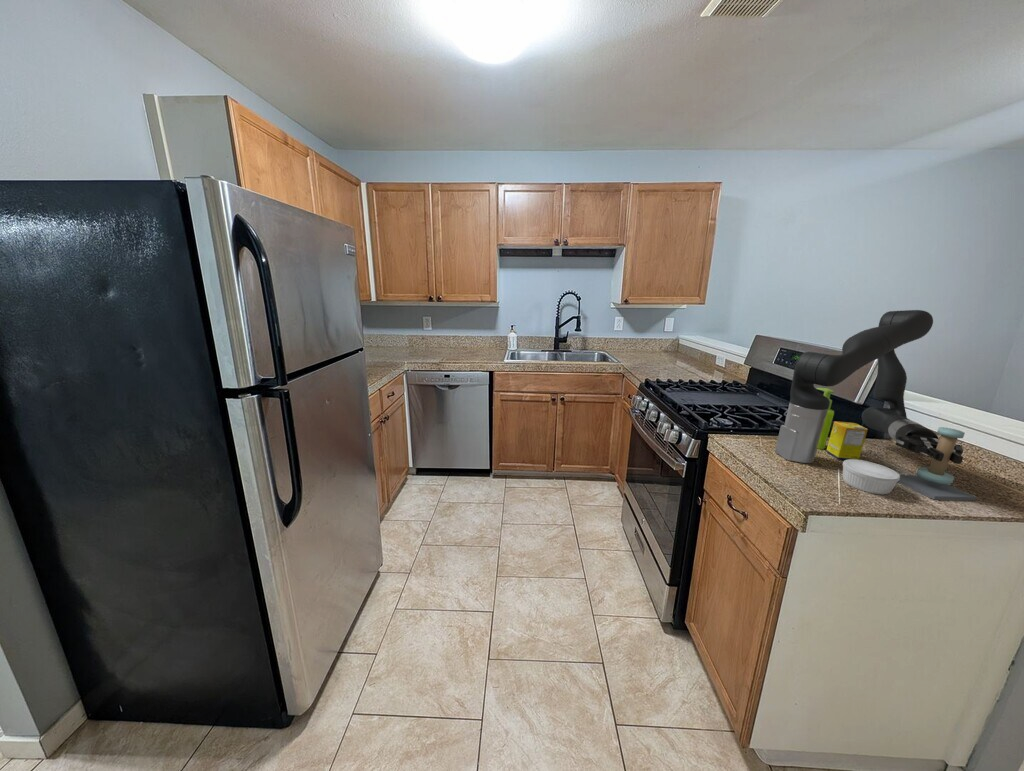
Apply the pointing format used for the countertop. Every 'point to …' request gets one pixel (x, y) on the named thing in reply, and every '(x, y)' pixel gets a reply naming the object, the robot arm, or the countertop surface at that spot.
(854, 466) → the ramekin
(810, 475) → the countertop surface
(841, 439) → the supplement box
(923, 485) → the mat
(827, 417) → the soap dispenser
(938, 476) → the teal-flanged spool
